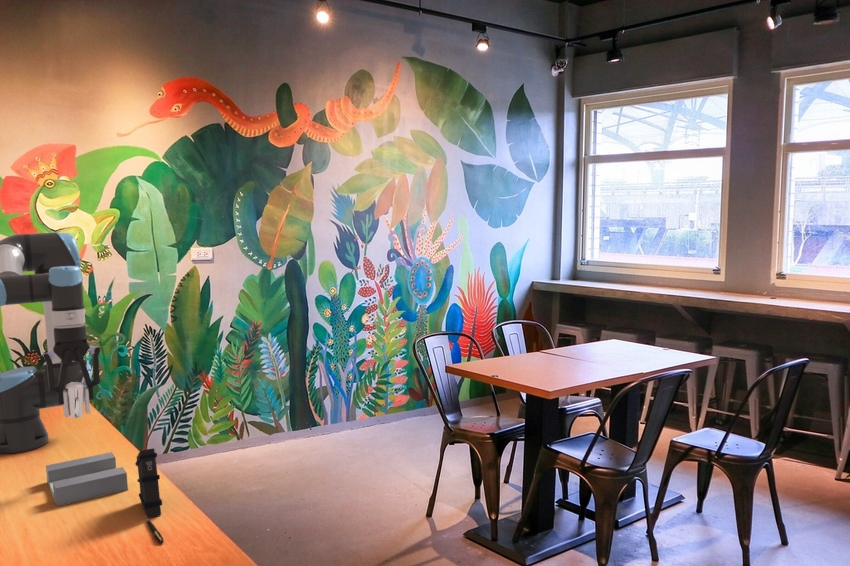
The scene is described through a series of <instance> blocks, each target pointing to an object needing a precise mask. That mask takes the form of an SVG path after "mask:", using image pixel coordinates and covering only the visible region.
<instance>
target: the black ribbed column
mask: <svg viewBox="0 0 850 566" xmlns="http://www.w3.org/2000/svg"><path fill="white" fill-rule="evenodd" d="M157 457H158V453H157V452H155V448H154V447H152V448H148V449H143V450H139V451H138V454H137V455H136V461H135V464H134V465H135V467H137V472H138V473H137V475H138V478H137V482H138V483H139V493H138V498H139V499H140V502H141V503H140V504H141V506H142V508H143V511H144V514H145V516H146V519H151V518H156V517H160V516H162V511H161V509H162V508H161V506H163V500H162V499H161V496H160V488H159V487H160V485H159V480H160V479H161V477H160V476H161V475H160V474H158V468H157V459H156V458H157Z"/></svg>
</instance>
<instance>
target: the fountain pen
mask: <svg viewBox="0 0 850 566" xmlns="http://www.w3.org/2000/svg"><path fill="white" fill-rule="evenodd" d="M146 523H147V525H148V527H149V529H150V532H152V534H153V537H154V538H155V539H156V540H157V542H158V543H159V544H164V538H163V536H162V534H161V533H160V531H159V530H158V528H157V527H156V526H155V524H154V523H153V522H152V521H151V519H149V518H146Z"/></svg>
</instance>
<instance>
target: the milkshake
mask: <svg viewBox="0 0 850 566" xmlns="http://www.w3.org/2000/svg"><path fill="white" fill-rule="evenodd" d="M83 381H84V377H83V380H82V383H81V382H71V383H68V384H67V385H66V386H65V389H66V392H67V402H68V414H69V417H68V418H69V419H77V418H78V419H79V418H83V416H84V407H85V402H84V390H85V384H84V383H83Z"/></svg>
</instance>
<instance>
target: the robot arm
mask: <svg viewBox="0 0 850 566" xmlns="http://www.w3.org/2000/svg"><path fill="white" fill-rule="evenodd" d="M78 248H79V247H78V244H77V241H76V239H75V237H74V235H73V234H72V233H70V232H47V233H46V232H43V233H26V234H24V233H20V234H19V233H18V234H13V235H11V236H7V237H5V238H2V239H0V307H2V306H12V305H21V304H23V305H25V304H32V303H33V304H34V303H43V304H42V305H43V313H44V314H43V315H44V323H45V324H44V326H45V334H46V343H47V344H46V345H47V352H43V353H42V357H43V358H44V361H45V362H44V363H43V370H37V368H36V367H35V366H31V365H30V366H22V367H18V368H13V369H10V370H6V371H4V372H1V373H0V454H1V455H3V454H5V455H6V454H17V453H23V452H28V451H32V450H35V449H38V448H41V447H43V446H45V445H47V444H48V443H49V441H50V440H49V433H48V431H47V429H46V427H45V425H44V423H43V421H42V419H41V413H40V410H41V409H48V408H54V407H62V406H63V416H64V417H65V418H69V412H68V402H67V392H66V389H65V386H66V385H67V384H68V383H71V382H81V383H82V380H83V377H84V381H83V383H84V384H85V390H84V411H85V413H86V414H91V405H90V403H91V402H90V401H91V400H94V387H96V386H97V385H100V383H101V379H100V364H99V362H100V361H99V360H100V359H99V355H100V352H101V348H100V347H99V346H96V345H95V346H94V345H90V343H89V341H88V337H87V334H88V333H87V326H86V325H85V323H86V315H85V313H86V312H85V304H84V289H83V280H84V279H83V276H82V270H81V266H82V263H81V257H80V252H79V249H78ZM25 272H34V273H33V274H24V273H25ZM88 352H89V353H90V354H91V360H92V362H91V364H92V365H90V364H88V363H86V359H85V356H86V354H87V353H88ZM92 378H93V379H92Z"/></svg>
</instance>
